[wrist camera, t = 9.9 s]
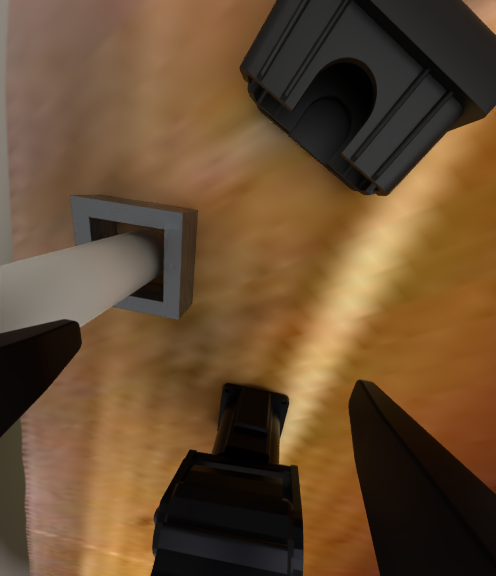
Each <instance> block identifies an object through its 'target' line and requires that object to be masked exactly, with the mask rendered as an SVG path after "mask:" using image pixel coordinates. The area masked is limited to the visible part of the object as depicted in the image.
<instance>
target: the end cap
mask: <svg viewBox="0 0 496 576" xmlns="http://www.w3.org/2000/svg"><path fill="white" fill-rule="evenodd" d="M240 71H241V73H242V76H243V79H244V80H245V81H247V82H248V83H249V84H248V92H249V94H250V97H251V98H252V100H253V101H254V102H255V103H256V104H257V106H258V108H259V110H260V111H261V112H262V113H263V114H264V115H265V116H266V117H268V118H269V119H270V120H271V121H272V122H273V123H275V124H276V125H277V126H278V127H279V128H280V129H282V130H283V131H284V132H285V133H286V134H287V135H289V136H290V137H291V138H292V139H293V140H294V141H296V142H297V143H298V144H299V145H300V146H301V147H303V148H304V149H305V150H306V151H307V152H308V153H310V154H311V155H312V156H313V157H314V158H315V159H317V160H318V161H319V162H320V163H321V164H322V165H324V166H325V167H326V168H327V169H328V170H329V171H331V172H332V173H333V174H334V175H335V176H336V177H338V178H339V179H340V180H341V181H342V182H343V183H345V184H346V185H347V186H348V187H349V188H350V189H352V190H354V191H359V192H360V193H362V194H364V195H371V194H375V193H376V194H377V195H378V196H387V195H389V194H390V193H391V192H392V190H393V189H394V188H395V187H396V186H397V185H398V184H399V183H400V182H401V181H402V180H403V179H404V178H405V176H406V175H407V174H408V173H409V172H410V171H411V170H412V169H413V168H414V167H415V166H416V165H417V164H418V163H419V161H420V160H421V159H422V158H423V157H424V156H425V155H426V154H427V153H428V152H429V151H430V150H431V149H432V148H433V146H434V145H435V144H436V143H437V142H438V141H439V140H440V139H441V138H442V137H443V136H444V135H445V134H446V133H447V132H448V131H450V130H453V129H456V128H458V127H461V126H464V125H466V124H469V123H472V122H475V121H477V120H480V119H483V118H485V117H486V115H487V114H488V113H489V112H490V111H491V110H492V109H493V108H494V107H495V106H496V35H495V34H494V33H493V32H492V31H491V30H490V29H489V28H488V27H487V26H486V25H485V24H484V23H483V22H482V21H481V20H480V19H479V18H478V16H477V15H476V14H475V13H474V12H473V11H472V10H471V9H470V8H469V7H468V6H467V5H466V4H465V3H464V2H463V1H462V0H277V1H276V3H275V5H274V6H273V8H272V10H271V12H270V14H269V15H268V17H267V19H266V21H265V22H264V24H263V26H262V28H261V30H260V31H259V33H258V35H257V37H256V39H255V40H254V42H253V44H252V46H251V48H250V49H249V51H248V53H247V55H246V57H245V58H244V60H243V62H242V64H241V65H240Z"/></svg>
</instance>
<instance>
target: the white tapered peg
mask: <svg viewBox="0 0 496 576" xmlns="http://www.w3.org/2000/svg"><path fill="white" fill-rule="evenodd" d="M162 273H164V237H163V236H162V235H161V234H159V233H158V232H156V231H154V230H151V229H139V230H135V231H131V232H128V233H124V234H120V235H116V236H112V237H108V238H104V239H100V240H97V241H93V242H89V243H85V244H81V245H77V246H73V247H70V248H66V249H62V250H58V251H54V252H50V253H46V254H42V255H39V256H35V257H31V258H27V259H23V260H19V261H15V262H11V263H8V264H4V265H0V333H4V332H8V331H13V330H17V329H21V328H26V327H30V326H35V325H39V324H44V323H48V322H53V321H57V320H61V319H68V320H73V321H77V322H78V323H79V325H80V327H82V326H83V325H85V324H86V323H88V322H89V321H91V320H92V319H94V318H96V317H97V316H99V315H100V314H102V313H103V312H105V311H106V310H108V309H109V308H111V307H112V306H114V305H115V304H117V303H118V302H120V301H121V300H123V299H124V298H126V297H127V296H129V295H130V294H132V293H133V292H135V291H136V290H138V289H139V288H141V287H142V286H144V285H145V284H147V283H149V282H150V281H152V280H153V279H155V278H156V277H158V276H159V275H161V274H162Z"/></svg>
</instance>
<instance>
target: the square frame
mask: <svg viewBox="0 0 496 576" xmlns="http://www.w3.org/2000/svg"><path fill="white" fill-rule="evenodd" d="M70 200H71V208H72V216H73V225H74V233H75V241H76V246H77V245H81V244H85V243H89V242H93V241H97V240H100V239H104V238H108V237H112V236H116V235H117V225H116V222H122V223H128V224H134V225H140V226H146V227H152V228H158V229H164V285H159V284H153V283H147V284H145V285H144V286H142V287H141V288H139V289H138V290H136V291H135V292H133V293H132V294H130V295H129V296H127V297H126V298H124V299H123V300H121V301H120V302H118V303H117V304H115V305H114V306H112V307H116V308H121V309H126V310H131V311H136V312H142V313H147V314H152V315H157V316H162V317H167V318H172V319H177V320H179V319H180V318H181V316H182V315H183V314H184V313H185V312H186V310H187V309H188V308H189V307H190V306H191V304H192V297H193V280H194V263H195V246H196V230H197V213H198V210H193V209H187V208H180V207H174V206H168V205H162V204H155V203H149V202H143V201H136V200H130V199H124V198H117V197H111V196H105V195H70Z"/></svg>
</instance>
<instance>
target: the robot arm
mask: <svg viewBox="0 0 496 576" xmlns="http://www.w3.org/2000/svg"><path fill="white" fill-rule="evenodd" d="M81 344H82V340H81V332H80V325H79V323H78V322H77V321H73V320H68V319H61V320H57V321H53V322H48V323H44V324H39V325H35V326H30V327H26V328H21V329H17V330H13V331H8V332H4V333H0V437H1V436H2V435H3V434H4V433H5V432H6V431H7V430H8V429H9V428H10V427H11V426H12V425H13V424H14V423H15V422H16V421H17V420H18V419H19V418H20V417H21V416H22V415H23V414H24V413H25V412H26V411H27V410H28V409H29V408H30V406H31V405H32V404H33V403H34V402H35V401H36V400H37V399H38V398H39V397H40V396H41V395H42V394H43V393H44V392H45V391H46V390H47V389H48V387H49V386H50V385H51V384H52V383H53V381H54V380H55V379H56V378H57V377H58V375H59V374H60V373H61V372H62V370H63V369H64V368H65V367H66V366H67V364H68V363H69V362H70V361H71V359H72V358H73V357H74V356H75V354H76V353H77V352H78V351H79V349H80V347H81ZM228 389H230V390H228ZM283 401H285V402H283ZM288 406H289V398H288V397H287V396H284V395H279V394H275V393H270V392H266V391H261V390H256V389H252V388H247V387H242V386H238V385H233V384H225V385H224V387H223V390H222V398H221V406H220V414H219V421H218V429H217V430H218V433H217V436H216V440H215V443H214V447H213V450H212V454H208V453H201V452H197V450H189V452H188V454H187V456H186V457H185V458H184V460H183V461H182V463H181V465H180V467H179V469H178V470H177V472H176V474H175V476H174V478H173V479H172V481H171V483H170V485H169V487H168V488H167V490H166V492H165V494H164V496H163V497H162V499H161V502H160V505H159V507H158V508H157V509H156V511H155V514H154V523H155V530H154V536H153V545H152V550H153V555H154V556H155V561H154V565H153V569H152V573H151V576H303V518H302V506H301V496H300V485H299V475H298V466H296V465H290V466H287V465H281V464H279V443H280V437H281V433H282V429H283V425H284V422H285V418H286V414H287V410H288ZM349 416H350V424H351V433H352V442H353V450H354V458H355V463H356V469H357V473H358V478H359V482H360V487H361V491H362V496H363V500H364V505H365V509H366V514H367V518H368V523H369V527H370V532H371V536H372V541H373V545H374V550H375V554H376V558H377V563H378V567H379V572H380V576H496V494H495V493H494V492H493V491H492V490H491V489H489V488H488V487H487V486H486V485H485V484H484V483H483V482H482V481H481V480H480V479H479V478H477V477H476V476H475V475H474V474H473V473H472V472H471V471H470V470H469V469H468V468H466V467H465V466H464V465H463V464H462V463H461V462H460V461H459V460H458V459H457V458H455V457H454V456H453V455H452V454H451V453H450V452H449V451H448V450H447V449H446V448H445V447H443V446H442V445H441V444H440V443H439V442H438V441H437V440H436V439H435V438H434V437H432V436H431V435H430V434H429V433H428V432H427V431H426V430H425V429H424V428H423V427H421V426H420V425H419V424H418V423H417V422H416V421H415V420H414V419H413V418H412V417H411V416H409V415H408V414H407V413H406V412H405V411H404V410H403V409H402V408H401V407H400V406H398V405H397V404H396V403H395V402H394V401H393V400H392V399H391V398H390V397H389V396H387V395H386V394H385V393H384V392H383V391H382V390H381V389H380V388H379V387H378V386H377V385H375V384H374V383H373V382H371V381H366V380H361V379H360V380H357V382H356V383H355V386H354V389H353V391H352V394H351V397H350V399H349Z"/></svg>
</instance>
